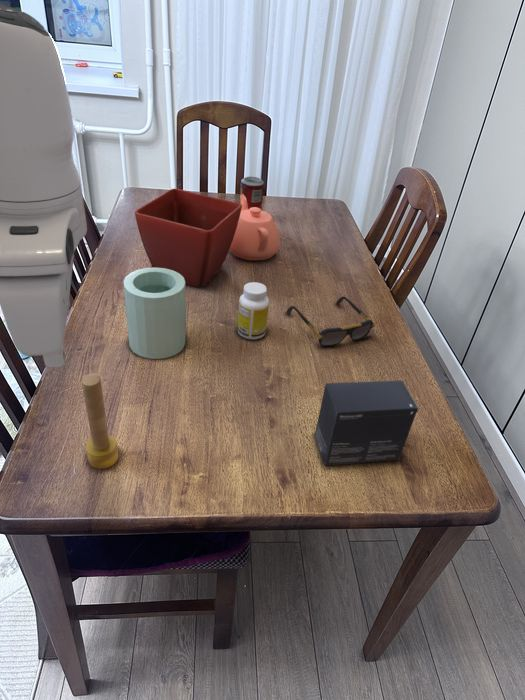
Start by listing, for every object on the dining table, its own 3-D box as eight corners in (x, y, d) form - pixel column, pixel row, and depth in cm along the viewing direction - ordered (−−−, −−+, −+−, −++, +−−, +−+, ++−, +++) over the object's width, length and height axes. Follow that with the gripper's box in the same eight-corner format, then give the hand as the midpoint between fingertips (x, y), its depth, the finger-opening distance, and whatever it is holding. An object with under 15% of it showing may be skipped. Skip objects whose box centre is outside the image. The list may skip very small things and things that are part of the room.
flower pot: (239, 265, 128) (243, 203, 118) (208, 298, 114) (210, 231, 104) (174, 248, 133) (173, 187, 122) (137, 278, 118) (132, 212, 108)
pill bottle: (266, 325, 107) (272, 282, 100) (264, 342, 102) (269, 297, 96) (239, 322, 107) (242, 278, 101) (235, 338, 102) (238, 293, 96)
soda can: (265, 219, 154) (269, 180, 147) (248, 224, 150) (251, 184, 143) (250, 212, 158) (253, 173, 151) (234, 216, 154) (236, 177, 147)
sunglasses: (337, 304, 117) (340, 286, 114) (374, 339, 107) (379, 321, 104) (286, 313, 112) (288, 295, 109) (319, 352, 101) (323, 333, 98)
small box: (385, 430, 85) (403, 379, 78) (400, 461, 80) (421, 409, 72) (312, 434, 83) (325, 381, 75) (323, 466, 77) (337, 413, 70)
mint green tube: (132, 362, 93) (126, 300, 85) (126, 328, 101) (121, 269, 93) (189, 355, 96) (190, 295, 88) (180, 323, 105) (179, 265, 96)
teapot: (215, 234, 142) (216, 193, 134) (263, 232, 146) (267, 192, 139) (236, 270, 126) (239, 226, 118) (289, 266, 130) (296, 223, 123)
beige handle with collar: (88, 471, 72) (73, 392, 63) (88, 449, 76) (73, 371, 66) (119, 466, 74) (109, 388, 64) (117, 444, 77) (107, 367, 67)
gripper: (14, 176, 52) (38, 288, 60) (-26, 268, 36) (14, 402, 45) (76, 177, 53) (92, 286, 62) (63, 266, 38) (86, 395, 46)
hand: (59, 336), depth 53 cm, fingers open, 8 cm apart
